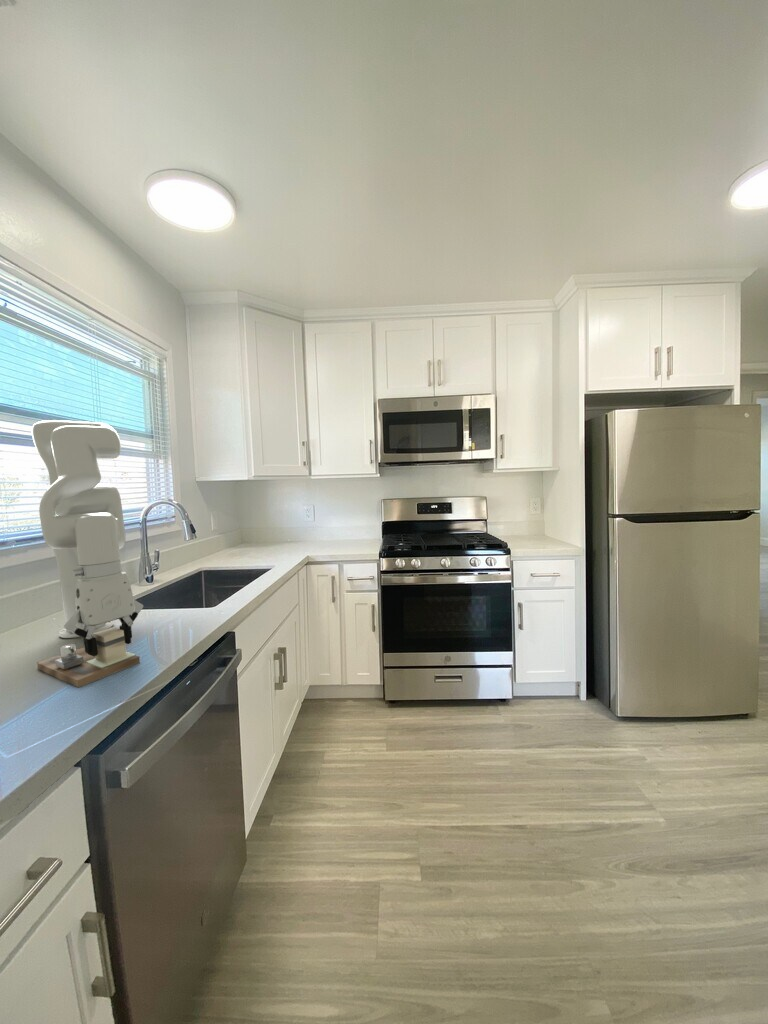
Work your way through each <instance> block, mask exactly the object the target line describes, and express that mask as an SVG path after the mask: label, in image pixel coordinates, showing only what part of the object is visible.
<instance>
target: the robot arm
mask: <svg viewBox="0 0 768 1024" xmlns="http://www.w3.org/2000/svg"><path fill="white" fill-rule="evenodd" d="M31 436H32V440H33V444H34V446H35V449H36V451H37V453H38V455H39V456H40V458H41V459H42V461H43V462H44V464H45V466H46V468H47V471H48V472H47V473H48V477H49V485H50V486H49V487H48V488H47V489H46V490H45V492H44V494H43V496H42V497H41V500H40V502H39V508H38V510H39V511H38V513H39V519H40V520H39V521H40V526H41V533H42V536H43V540H44V543H45V544H46V545H47V546H48V547H49V548H51V549H52V550H53V552H54V555H55V561H56V565H57V571H58V576H59V582H60V584H59V585H60V591H61V598H62V609H63V617H64V623H65V624H64V625H63V628H62V629H61V630H59V632H58V634H59V635H58V636H59V637H60V638H63V639H74V638H83V645H84V646H83V647H85V652H86V653H88V655H91V656H97V655H98V651H97V642H96V638H95V637H93V634H94V633H96V632H99V631H103V630H106V629H109V628H112V627H113V626H114V621H116V620H118V621H120V623H121V625H120V626H119V629H120V630H124V636H125V645H130V644H132V639H133V633H132V632H133V631H132V626H133V625H134V622H135V620H136V619H137V618H138V615H139V614H140V613H141V611H142V609H143V608H144V604H142V603H141V602H139V601H137V600H136V599H134V595H133V590H132V586H131V582H130V580H129V576H128V574H127V572H125V571H122V563H121V555H120V550H121V549H123V548H124V547H125V545H126V539H127V537H126V529H125V520H124V514H123V512H124V511H123V505H122V499H121V494H120V492H119V490H118V488H117V486H115V485H114V484H110V483H100V482H101V480H102V475H101V471H100V467H99V463H98V460H99V459H103V460H104V459H105V460H107V459H109V460H110V459H116V458H118V457H119V456H120V455H121V452H122V443H121V439H120V435H118V433H117V430H116V429H114V427H112V426H111V425H109V424H107V423H104V422H95V421H94V422H93V421H77V420H57V419H53V420H49V419H48V420H41V421H38V422H36V423H34V424H33V425H32V426H31Z"/></svg>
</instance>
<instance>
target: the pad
mask: <svg viewBox="0 0 768 1024" xmlns="http://www.w3.org/2000/svg"><path fill="white" fill-rule="evenodd" d="M135 655H137V654H136V653H133V652H129V651H127V650H126V656H125V657H123V658H120V659H118V660H115V661H112V662H110V663H104V662H101V661H98V660H96V658H95V659H92V660H89V661H86V663H89V664H91V665H94V666H97V667H99V668H104V667H106V666H109V665H112V664H114V663H117V662H119V661H122V660H125V659H127V658H130V657H132V656H135Z"/></svg>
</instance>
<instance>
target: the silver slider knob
mask: <svg viewBox="0 0 768 1024" xmlns="http://www.w3.org/2000/svg"><path fill="white" fill-rule="evenodd" d="M76 648H77V647H76V643H68V644H65V645H62V646H60V647H59V650H60V655H61V658H60V659H57V660H55V662H56V666H57V667H59V668H61V669H64V670H65V669H67V668H70V667H73V666H76V665H79V664H81V663H84V661H83V656H80V655H78V654H76V650H77V649H76Z"/></svg>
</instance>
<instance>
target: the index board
mask: <svg viewBox="0 0 768 1024" xmlns="http://www.w3.org/2000/svg"><path fill="white" fill-rule="evenodd" d="M76 654H78V655H80V656H83V661H84V663H81V664H79V665H76V666H73V667H70V668H67V669H65V670H64V669H61V668H59V667H57V666H56V662H55V660H57V659H60V658H61V654H59V655H56V656H53V657H49V658H47V659H44V660H41V661H38V662H36V666H37V669H38V670H39V671H41V672H43V673H45V674H48V675H50V676H52V677H55V678H56V679H59V680H61V681H63V682H65V683H68V684H69V685H71V686H74V687H77V688H81V687H83V686H86V685H88V684H91V683H93V682H95V681H98V680H100V679H103V678H105V677H108V676H110V675H114V674H115V673H118V672H120V671H123V670H125V669H128V668H130V667H133V666H135V665H138V664H140V663H141V660H140V656H139V655H137V654H136V655H135V656H132V657H130V658H127V659H125V660H122V661H119V662H117V663H114V664H112V665H109V666H106V667H104V668H99V667H97V666H94V665H91V664H89V663H86V661H89V660H92V659H95V658H96V657H95V656H91V655H88V653H86V652H85V646H83V647H80V648H77V649H76Z"/></svg>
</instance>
